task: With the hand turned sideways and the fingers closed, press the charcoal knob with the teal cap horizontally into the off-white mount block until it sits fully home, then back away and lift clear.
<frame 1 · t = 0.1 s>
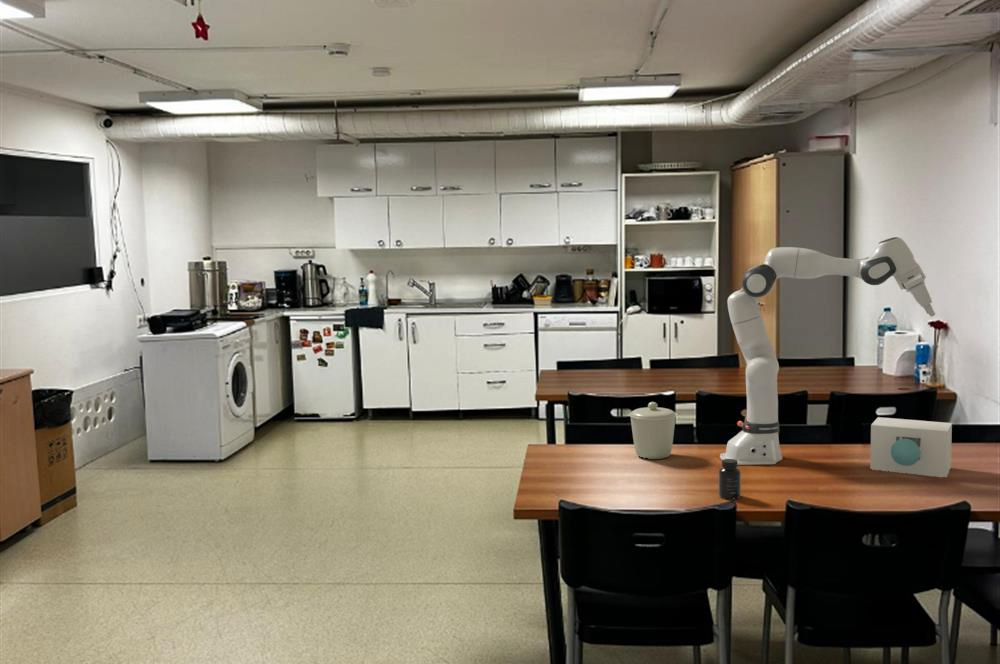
hand: (931, 314, 302), 54 cm above the table, tool tilted 30°, fingers open, 8 cm apart
canister: (653, 456, 336), on the table
natural sponge: (755, 432, 370), on the table
supplement bottle: (729, 497, 283), on the table
knob: (908, 448, 302), point 9 cm above the table, slide at 0.0 cm
knob mount: (910, 468, 308), on the table
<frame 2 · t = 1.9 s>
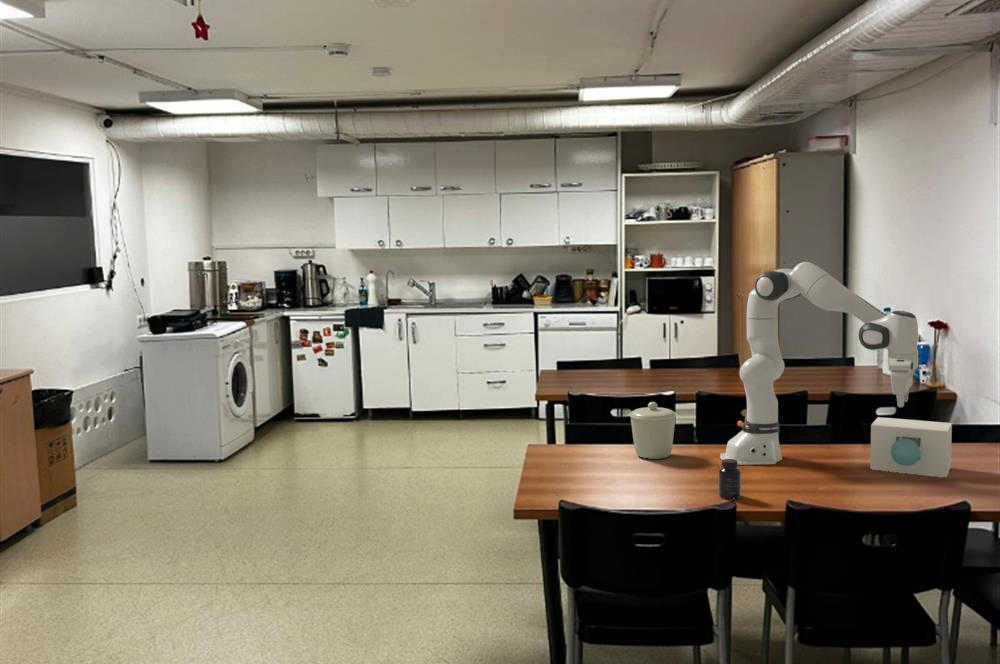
hand: (902, 404, 284), 28 cm above the table, tool pointing down, fingers open, 8 cm apart
nothing on the table moved.
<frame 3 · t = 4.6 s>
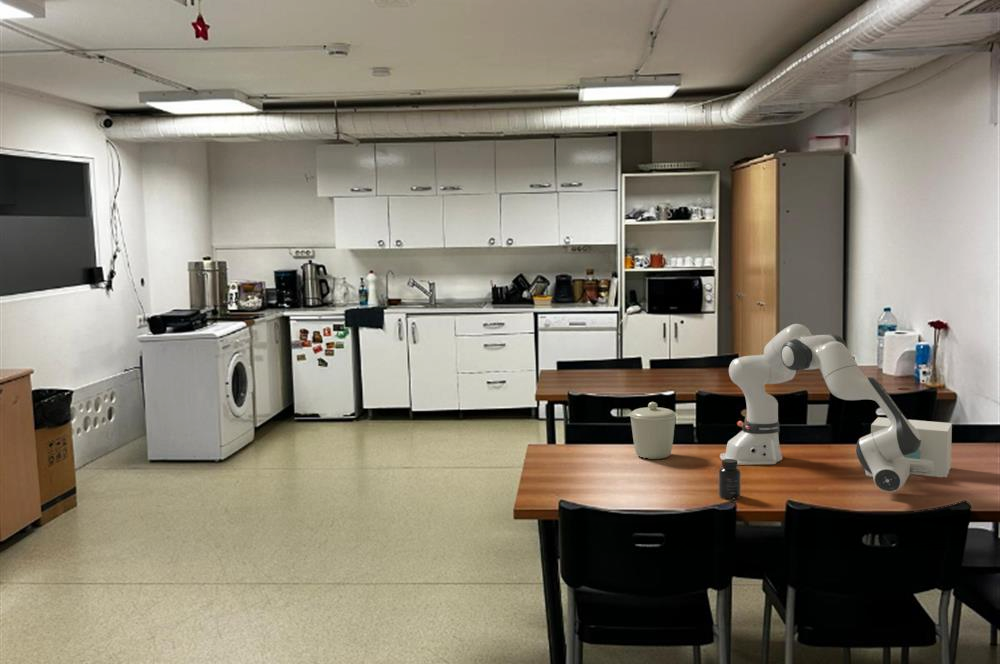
hand: (901, 459, 286), 9 cm above the table, tool horizontal, fingers closed
nothing on the table moved.
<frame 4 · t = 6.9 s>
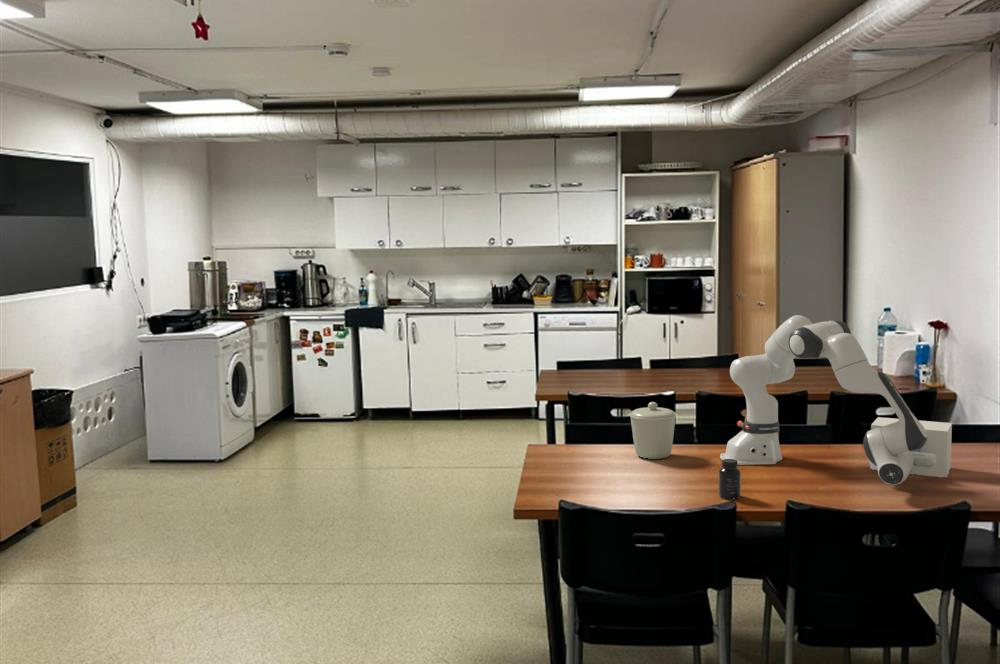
hand: (905, 452, 296), 9 cm above the table, tool horizontal, fingers closed, pressing on knob
knob: (908, 447, 302), point 9 cm above the table, slide at 0.9 cm, touching gripper
everything else where it was.
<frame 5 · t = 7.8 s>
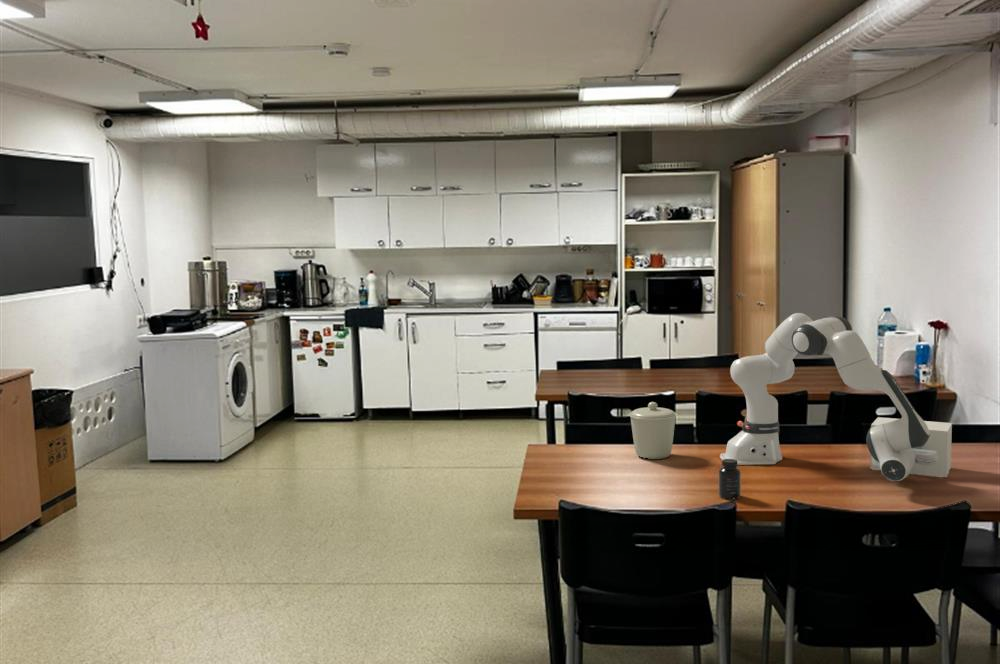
hand: (907, 449, 300), 9 cm above the table, tool horizontal, fingers closed, pressing on knob
knob: (910, 444, 306), point 9 cm above the table, slide at 5.1 cm, touching gripper
everything else where it was.
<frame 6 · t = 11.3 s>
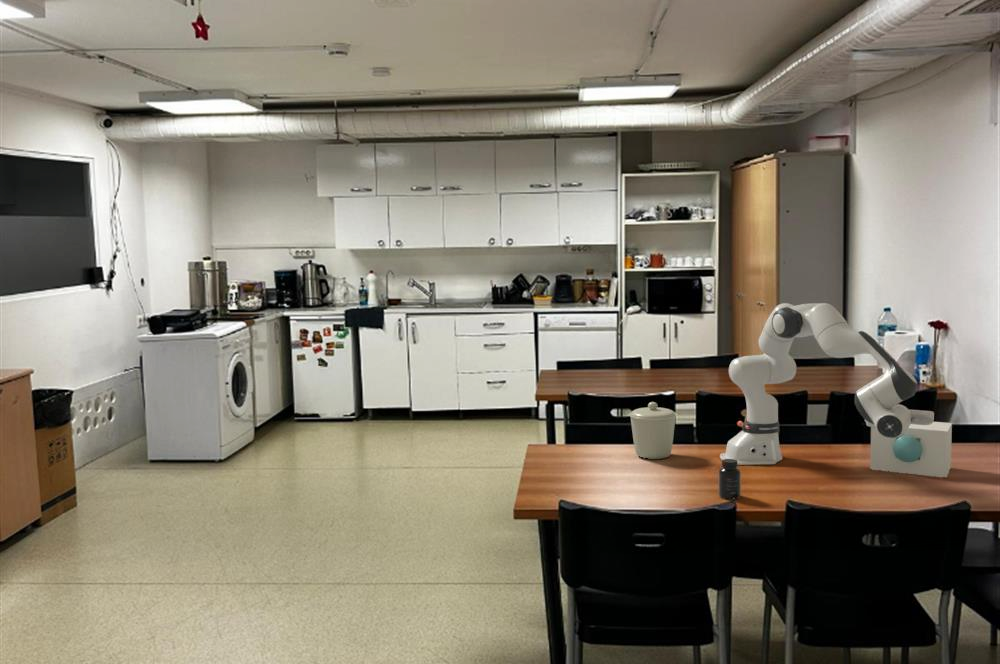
hand: (901, 412, 286), 25 cm above the table, tool horizontal, fingers closed
knob: (910, 444, 306), point 9 cm above the table, slide at 5.0 cm
everything else where it was.
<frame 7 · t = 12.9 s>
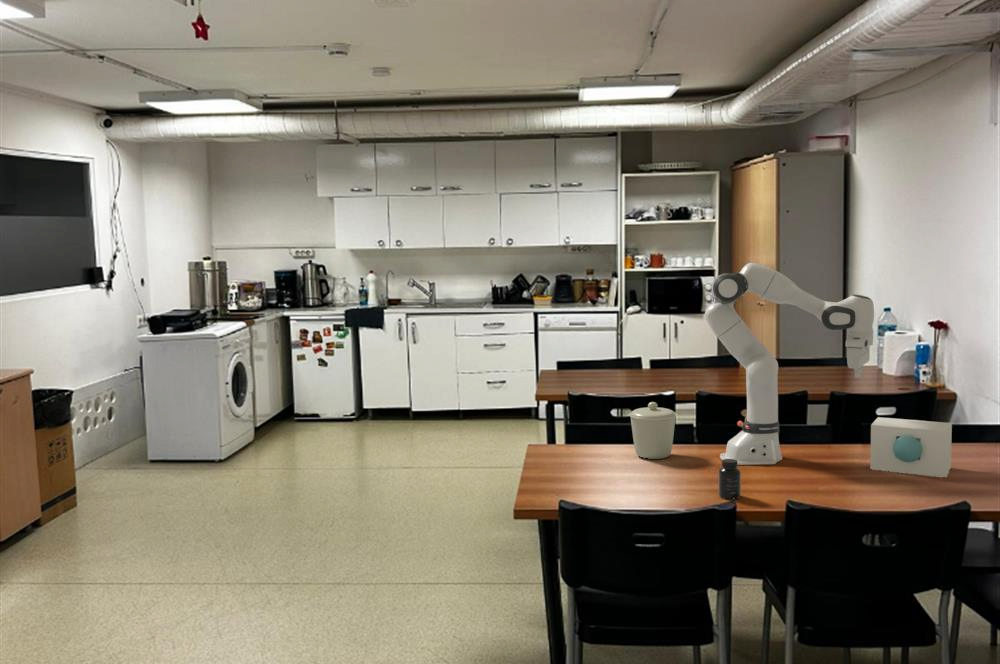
hand: (858, 377, 319), 31 cm above the table, tool pointing down, fingers closed
nothing on the table moved.
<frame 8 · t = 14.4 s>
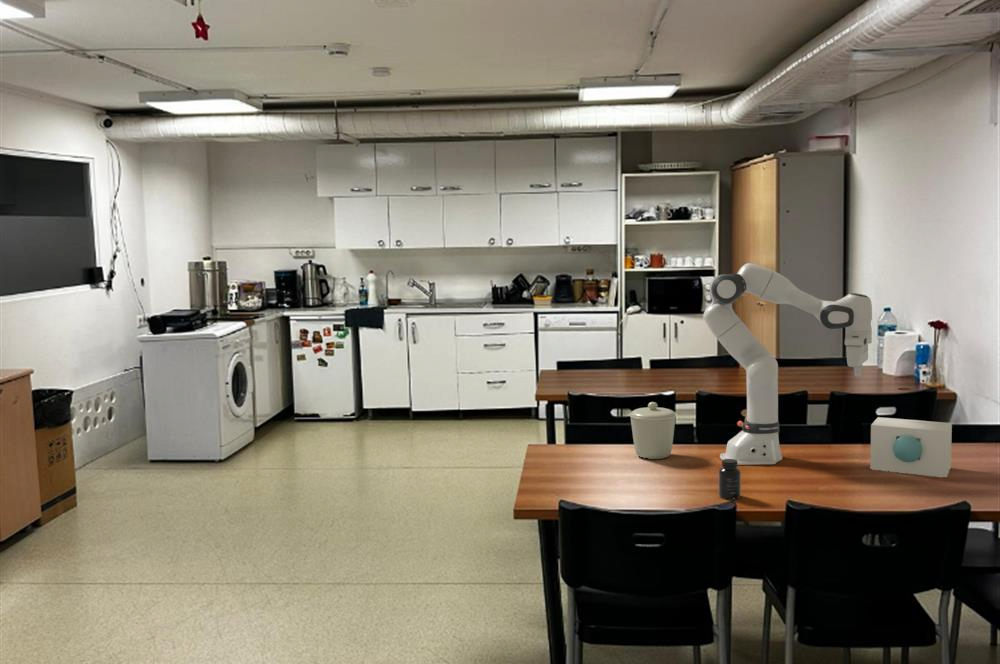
hand: (857, 375, 319), 31 cm above the table, tool pointing down, fingers closed
nothing on the table moved.
at the end: knob slide at 5.0 cm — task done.
